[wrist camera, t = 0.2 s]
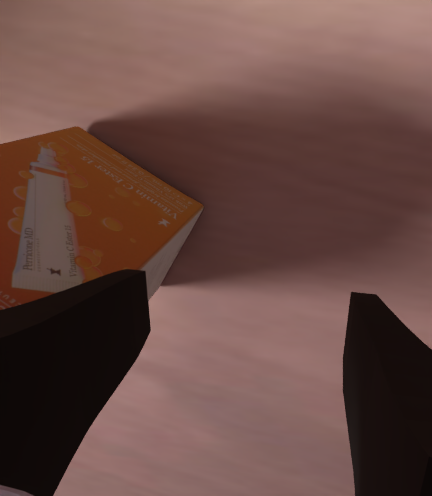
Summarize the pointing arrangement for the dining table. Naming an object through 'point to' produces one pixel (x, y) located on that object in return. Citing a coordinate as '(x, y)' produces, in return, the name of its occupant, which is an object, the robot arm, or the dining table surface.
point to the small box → (82, 216)
